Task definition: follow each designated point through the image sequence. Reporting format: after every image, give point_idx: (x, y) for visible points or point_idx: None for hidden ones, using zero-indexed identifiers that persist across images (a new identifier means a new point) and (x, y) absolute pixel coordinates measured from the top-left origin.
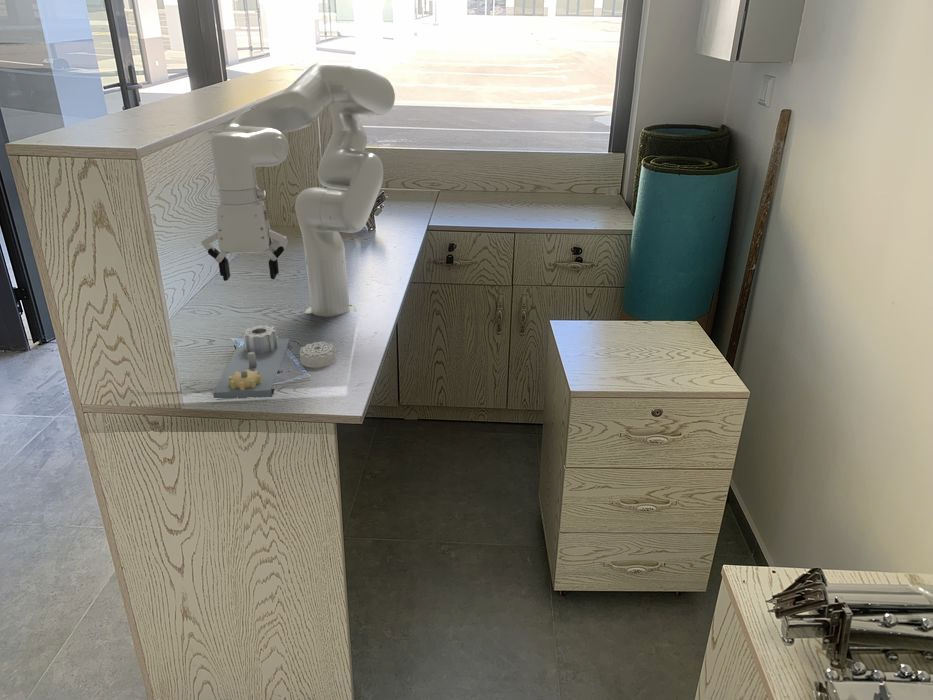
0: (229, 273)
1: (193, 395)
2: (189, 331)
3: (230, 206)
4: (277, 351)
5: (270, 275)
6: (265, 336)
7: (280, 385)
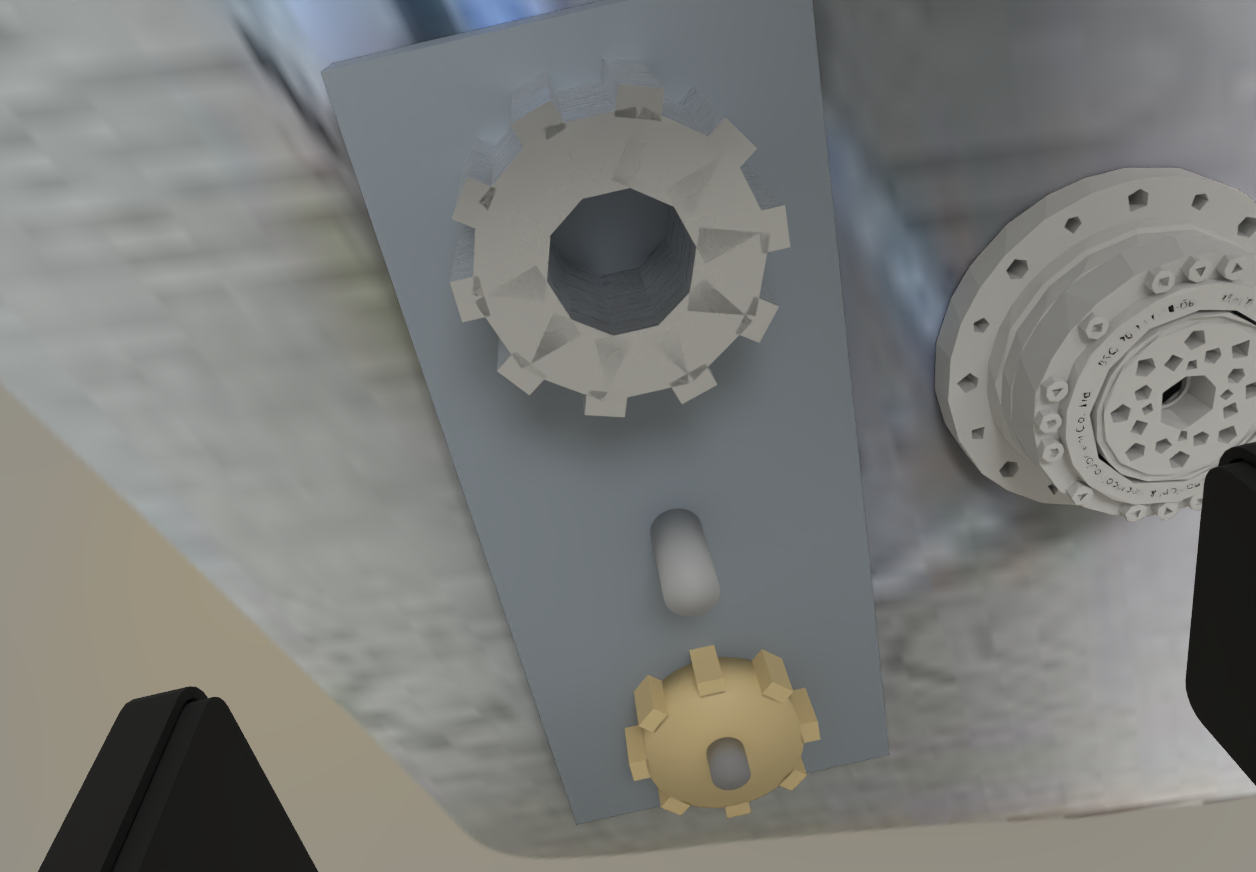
0: (215, 785)
1: (432, 773)
2: None
3: None
4: (774, 268)
5: (1238, 759)
6: (721, 347)
7: (890, 613)
